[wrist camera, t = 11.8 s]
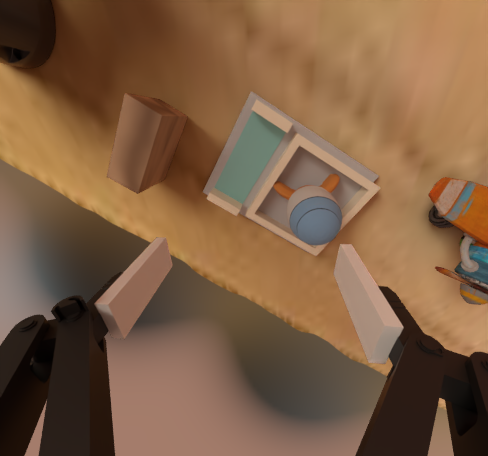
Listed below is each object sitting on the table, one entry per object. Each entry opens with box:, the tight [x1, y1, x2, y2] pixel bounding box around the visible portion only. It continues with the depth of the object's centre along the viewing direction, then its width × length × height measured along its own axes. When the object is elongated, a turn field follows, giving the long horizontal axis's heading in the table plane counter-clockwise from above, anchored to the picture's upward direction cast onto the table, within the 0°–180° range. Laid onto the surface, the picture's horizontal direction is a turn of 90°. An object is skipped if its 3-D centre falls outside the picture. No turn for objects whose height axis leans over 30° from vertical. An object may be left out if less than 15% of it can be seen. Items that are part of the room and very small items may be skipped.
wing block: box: [107, 93, 188, 194], centre depth 32 cm, size 5×12×9 cm, turn 151°
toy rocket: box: [273, 174, 342, 245], centre depth 31 cm, size 10×11×15 cm
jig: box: [203, 91, 380, 256], centre depth 35 cm, size 24×18×4 cm
